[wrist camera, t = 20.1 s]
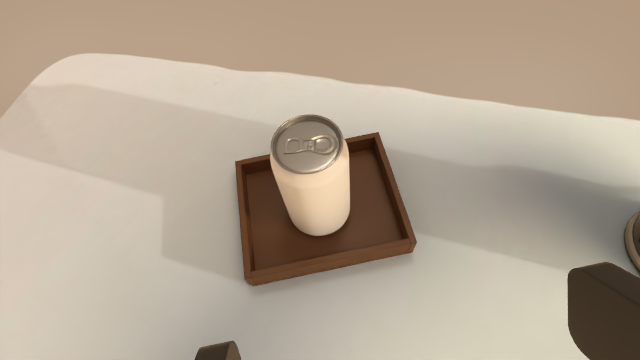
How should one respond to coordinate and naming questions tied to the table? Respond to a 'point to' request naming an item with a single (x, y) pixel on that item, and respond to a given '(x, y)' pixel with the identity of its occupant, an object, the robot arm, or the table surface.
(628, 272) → the robot arm
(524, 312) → the table surface
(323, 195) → the can
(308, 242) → the tray
